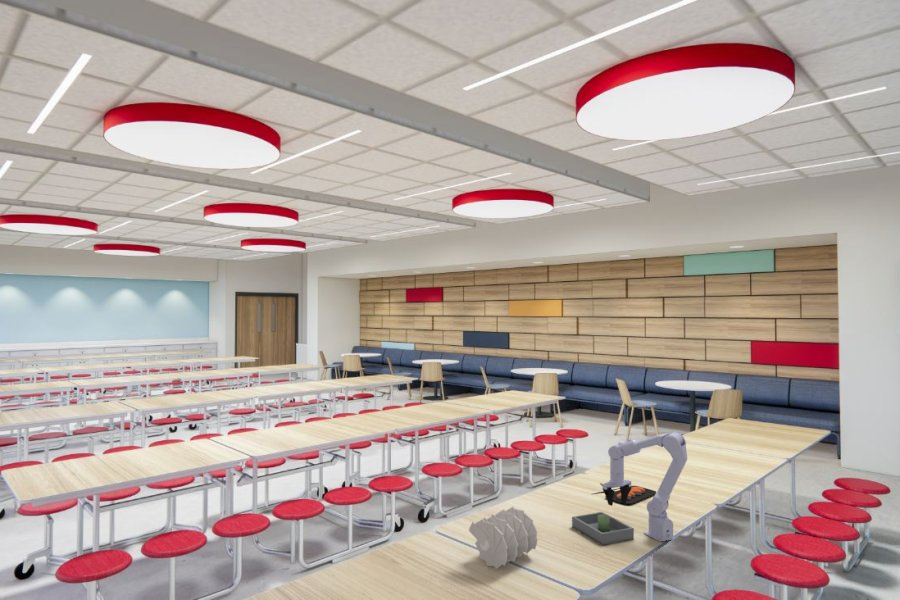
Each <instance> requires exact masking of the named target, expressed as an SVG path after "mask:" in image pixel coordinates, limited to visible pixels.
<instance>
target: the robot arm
mask: <svg viewBox="0 0 900 600" xmlns="http://www.w3.org/2000/svg"><path fill="white" fill-rule="evenodd" d="M653 446H658V447H660V448H664V449H665V450H666V451H667V453H669V454H670V456H671V459H672V460H671V462H670V465H669V467H668V469H667V471H666V473H665V475H664V476H663V478H662V481H661V483H660V484H659V487H658V489H657V491H656V494H654V495H653V498H652V499H651V500H650V501H648V502H647V504H646V510H647V512H648V530H647V531H643V534H645V535H647V536H648V537H650V538H652V539H654V540H656V541H658V540H659V541H658V542H660V543H661V541H663V542H666V540H667V541H671V540H675V538H676V537H674V523H673V521H672V520H671V519H670V518H669V517H668V513H667V510H668V508H669V505H670V504H669V500H670V498H671V494H672V492H673V489H674V487H675V485H676V484H677V482H678V480H679V478H680V475H681V473H682V472H683V469H684V467H685V466H686V463H687V461H688V453H687V441H686V440H685V437H684V436H683V434H681V433H680V432H678V431H671V432H665V433H660V434H657V435H655V436H651V437H648V438H645V439H641V440H636V439H632V438H630V439H627V441H624V442H618V443H617V444H614V445H612V446H610V447H608V448H609V449H608V452H607V453H608V456H609V457H610V459H609V460H610V463H609V466H610V467H609V469H610V470H609V474H610V476H609V481H607V482H605V483H602V485H603V486H602V492H603V491H604V493H603V494H604V496H606V497H605V498H606V501H607V505H609V506H613V504H614V500H613V495H614V492H616V490H613V489H616V488H620V489H619V490H620V491H621V501H622V502H623V503H622V504H624V503H626V501H627V497H628V494H629V492H630V491H631V487H630V486H632V480H629V479H627V480H625V459H624V457H629V456H632V455H635V454H639V453H640V451H641V450H642V449H645V448H650V447H653Z"/></svg>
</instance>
